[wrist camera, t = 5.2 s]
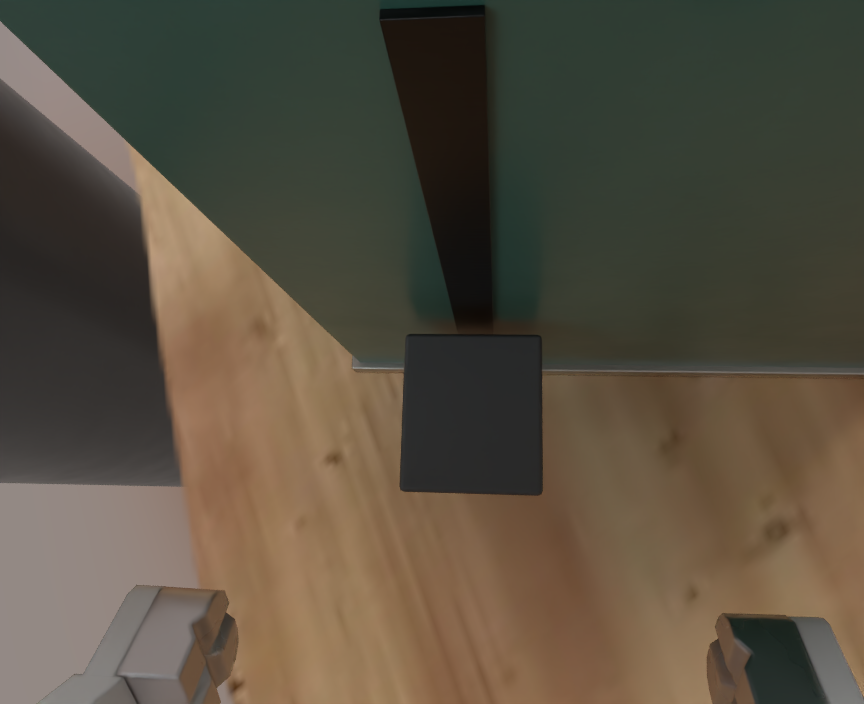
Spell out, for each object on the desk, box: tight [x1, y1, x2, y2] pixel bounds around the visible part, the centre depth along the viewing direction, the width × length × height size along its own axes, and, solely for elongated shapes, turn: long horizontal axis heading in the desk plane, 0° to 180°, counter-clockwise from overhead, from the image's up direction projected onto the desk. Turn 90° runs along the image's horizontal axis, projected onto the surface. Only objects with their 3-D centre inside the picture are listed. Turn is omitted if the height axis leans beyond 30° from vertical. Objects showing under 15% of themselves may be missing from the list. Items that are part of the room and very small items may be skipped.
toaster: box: [0, 0, 864, 379], centre depth 12 cm, size 8×15×16 cm, turn 88°
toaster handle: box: [400, 334, 543, 496], centre depth 14 cm, size 3×3×2 cm
